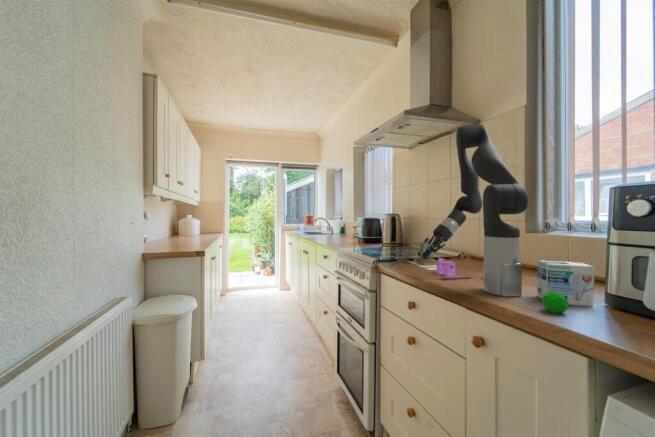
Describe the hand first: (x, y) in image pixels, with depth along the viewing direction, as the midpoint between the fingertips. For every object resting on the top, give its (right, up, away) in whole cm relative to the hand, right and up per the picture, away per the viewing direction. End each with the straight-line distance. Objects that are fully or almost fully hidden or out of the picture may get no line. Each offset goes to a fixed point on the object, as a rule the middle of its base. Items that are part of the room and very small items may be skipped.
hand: (421, 256), depth 124 cm
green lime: (+13, -6, -57) cm, 58 cm away
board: (+2, -5, -3) cm, 6 cm away
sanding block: (+2, -3, 0) cm, 4 cm away
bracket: (+6, -6, -20) cm, 22 cm away
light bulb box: (+23, -6, -48) cm, 54 cm away
